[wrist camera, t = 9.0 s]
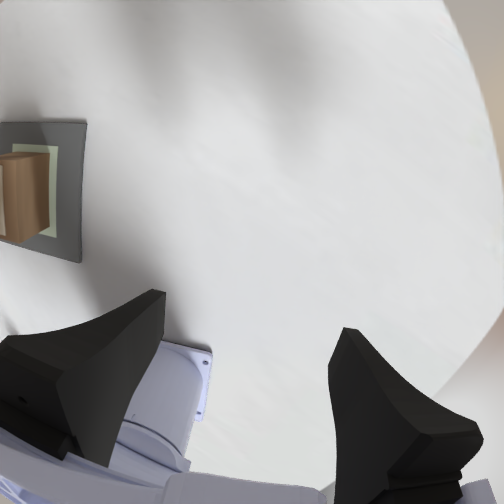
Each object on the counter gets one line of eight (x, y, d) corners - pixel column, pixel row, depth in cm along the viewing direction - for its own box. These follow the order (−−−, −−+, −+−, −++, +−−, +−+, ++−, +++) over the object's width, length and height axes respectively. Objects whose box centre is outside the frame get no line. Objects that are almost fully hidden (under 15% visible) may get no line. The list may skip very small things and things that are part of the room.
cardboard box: (49, 153, 20) (15, 160, 16) (49, 226, 22) (18, 244, 19) (16, 151, 20) (-18, 159, 16) (17, 219, 23) (-13, 235, 19)
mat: (81, 261, 24) (78, 263, 23) (2, 239, 24) (-1, 240, 23) (87, 123, 20) (83, 123, 19) (1, 122, 20) (-2, 122, 19)
